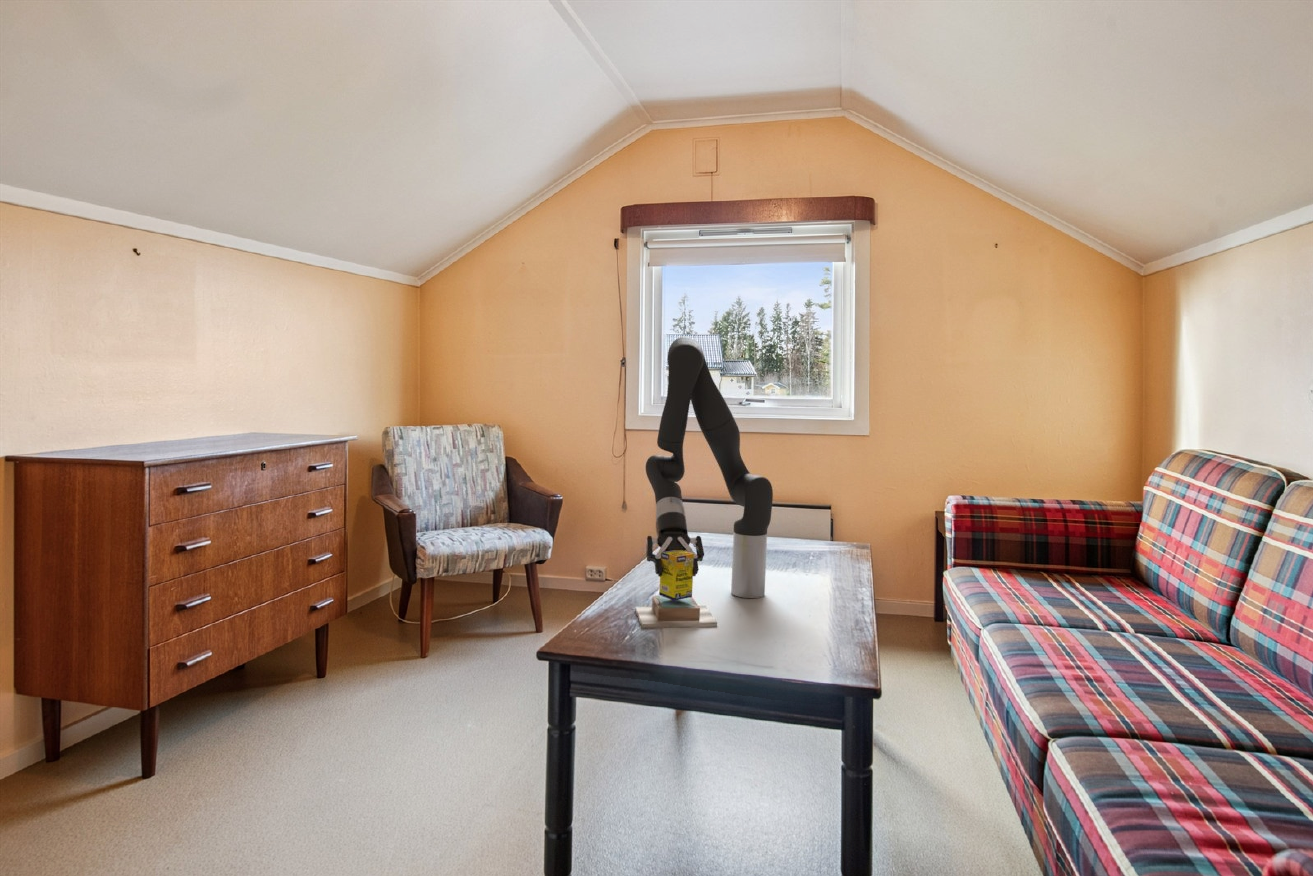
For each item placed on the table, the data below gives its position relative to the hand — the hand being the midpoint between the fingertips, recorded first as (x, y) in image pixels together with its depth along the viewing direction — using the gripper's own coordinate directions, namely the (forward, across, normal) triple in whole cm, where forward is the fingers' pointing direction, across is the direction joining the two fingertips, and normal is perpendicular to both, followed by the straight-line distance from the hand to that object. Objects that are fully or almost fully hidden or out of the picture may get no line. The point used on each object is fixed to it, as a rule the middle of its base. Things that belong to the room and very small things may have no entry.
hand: (677, 574), depth 172 cm
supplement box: (+3, 0, +5) cm, 6 cm away
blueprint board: (+7, 0, +9) cm, 11 cm away
